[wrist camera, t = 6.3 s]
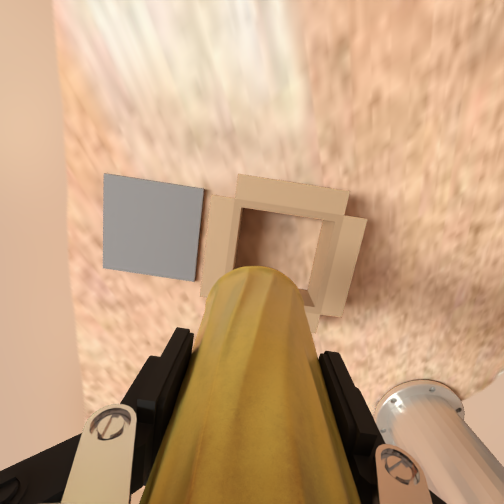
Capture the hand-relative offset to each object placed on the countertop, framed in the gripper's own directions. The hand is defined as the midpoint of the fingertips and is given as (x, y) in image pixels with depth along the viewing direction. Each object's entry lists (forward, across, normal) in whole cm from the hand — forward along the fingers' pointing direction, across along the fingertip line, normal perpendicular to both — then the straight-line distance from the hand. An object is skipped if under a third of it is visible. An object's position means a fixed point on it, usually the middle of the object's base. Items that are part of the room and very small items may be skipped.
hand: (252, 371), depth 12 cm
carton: (+24, -3, 0) cm, 24 cm away
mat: (+24, +13, 0) cm, 27 cm away
